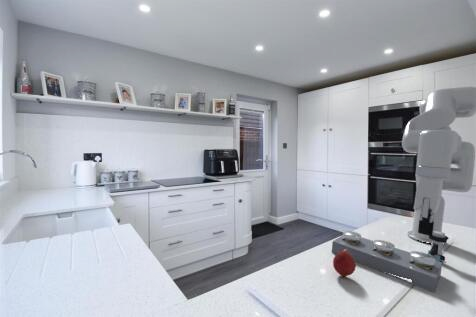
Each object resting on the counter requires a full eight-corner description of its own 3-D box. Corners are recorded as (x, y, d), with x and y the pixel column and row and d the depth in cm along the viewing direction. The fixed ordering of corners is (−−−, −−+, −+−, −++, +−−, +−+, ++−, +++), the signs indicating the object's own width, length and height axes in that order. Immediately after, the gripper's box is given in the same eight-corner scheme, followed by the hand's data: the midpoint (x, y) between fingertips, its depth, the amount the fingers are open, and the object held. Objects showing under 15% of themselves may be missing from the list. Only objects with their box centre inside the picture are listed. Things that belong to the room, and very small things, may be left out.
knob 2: (410, 267, 73) (412, 249, 72) (434, 276, 68) (436, 256, 68) (406, 274, 69) (408, 254, 68) (431, 283, 64) (433, 263, 64)
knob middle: (375, 255, 80) (376, 238, 79) (394, 262, 76) (396, 244, 75) (369, 260, 76) (371, 242, 75) (390, 268, 72) (392, 249, 71)
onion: (344, 284, 62) (347, 256, 62) (327, 273, 68) (329, 246, 67) (358, 279, 65) (361, 252, 65) (341, 269, 70) (343, 243, 70)
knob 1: (345, 245, 87) (347, 229, 87) (362, 250, 83) (363, 234, 82) (339, 249, 83) (340, 233, 83) (356, 255, 79) (357, 238, 79)
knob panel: (346, 242, 90) (347, 232, 90) (440, 275, 70) (442, 262, 70) (331, 252, 81) (332, 241, 81) (434, 292, 61) (436, 278, 61)
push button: (453, 267, 75) (456, 238, 75) (436, 266, 76) (439, 236, 75) (436, 257, 82) (440, 230, 81) (421, 256, 82) (424, 229, 82)
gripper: (420, 169, 74) (414, 224, 76) (410, 173, 64) (404, 236, 66) (452, 172, 69) (444, 231, 71) (446, 177, 59) (438, 246, 60)
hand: (425, 233), depth 68 cm, fingers closed
